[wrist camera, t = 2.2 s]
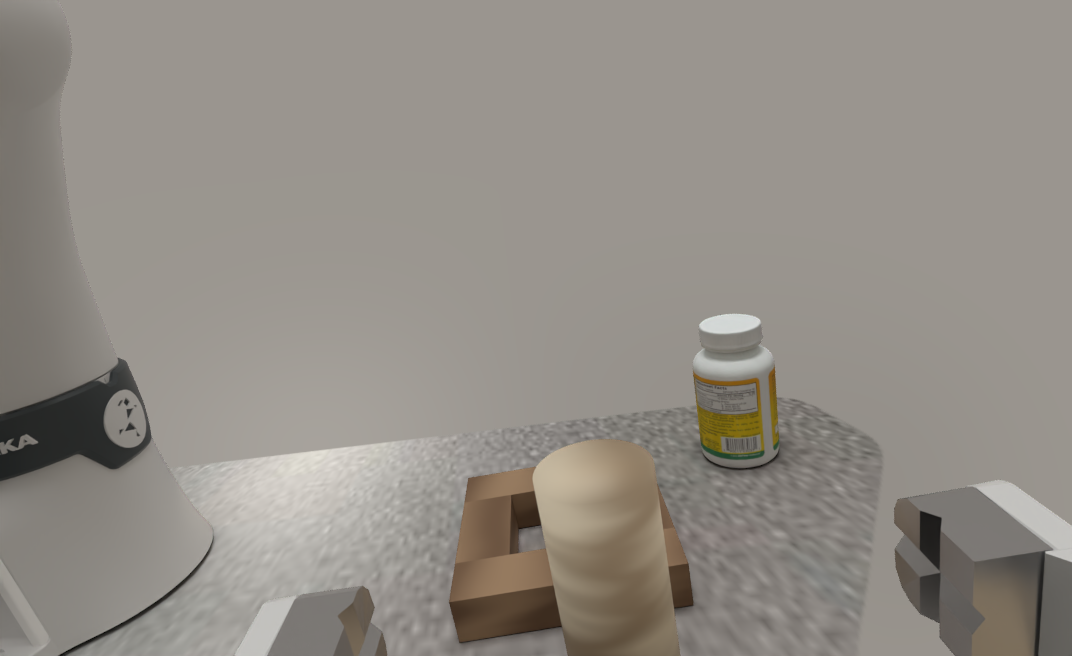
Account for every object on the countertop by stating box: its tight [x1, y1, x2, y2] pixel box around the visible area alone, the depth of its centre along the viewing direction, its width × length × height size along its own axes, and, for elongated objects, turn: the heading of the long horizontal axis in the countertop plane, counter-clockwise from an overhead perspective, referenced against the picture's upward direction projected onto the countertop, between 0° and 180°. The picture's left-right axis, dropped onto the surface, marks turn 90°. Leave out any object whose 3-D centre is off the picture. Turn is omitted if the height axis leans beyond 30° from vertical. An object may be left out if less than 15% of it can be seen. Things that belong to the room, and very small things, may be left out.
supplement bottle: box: [693, 314, 779, 468], centre depth 44 cm, size 5×5×10 cm
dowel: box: [532, 439, 680, 656], centre depth 25 cm, size 4×4×12 cm
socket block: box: [449, 467, 694, 642], centre depth 38 cm, size 12×12×2 cm
